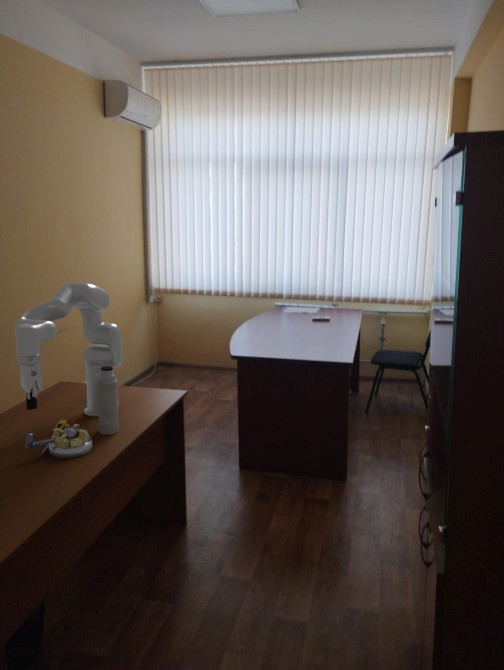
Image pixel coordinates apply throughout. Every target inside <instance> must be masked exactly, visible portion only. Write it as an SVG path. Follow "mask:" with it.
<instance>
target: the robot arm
mask: <svg viewBox="0 0 504 670" xmlns="http://www.w3.org/2000/svg"><path fill="white" fill-rule="evenodd" d="M109 305H110V296H109V293H108V292H107V290H105V289H103V288H102V287H101V286H100V287H99V286H97V285H95V284H91V283H87V282H72V281H71V282H70V281H69V282H66V283H63V285H61V287H60V288H59V289H57V291H56V292H55V293H54V295H53V296H52V297H51V298H50V299H49V300H48V301H45V302H42V303H40V304H38V305H35V306H33V307H31V308H28V309H27V310H26V311H25V312H23V314H22V315H21V316H20V317H19V318H18V320H17V321H16V323H15V326H14V333H15V335H14V336H15V347H16V362H17V363H16V364H17V365H18V366H19V374H20V375H19V379H20V386H21V388H22V389H23V390H24V392H25V405H26V407H25V408H26V410H28V411H30V410H31V411H32V410H37V409H38V401H37V397H38V391H40V392H42V391H43V382H42V373H41V368H40V363H41V350H40V349H41V348H40V347H41V346H40V344H41V343H45V342H49V341H51V340H53V339H54V338H55V337H56V335H57V333H58V327H57V325H56V324H55V322H53V321H57V320H60V319H64V318H66V317H67V316H68V315H69V314H70V312H71V311H72V310H73V309H74V308H76V309H77V310H78V311H79V312H80V316H81V321H82V322H81V323H82V330H83V337H84V340H85V341H86V342H87V343H89V345H87V346H86V347H85V348H84V349H83V351H82V353H83V354H82V358H83V359H82V360H83V361H84V362H83V363H84V366H85V376H86V379H85V381H86V402H87V404H86V405H87V407H85V408H84V410H83V413H84V415H86V416H88V417H98V389H97V380H99V375H100V374H101V367H103V366H112V367H113V368H119V367H120V366H121V365H122V364H123V361H124V351H123V349H124V348H123V338H122V332H121V328H120V326H119V325H117V324H116V323H112V322H104V321H103V313H102V310H106V309H107V308H108V307H109ZM37 390H38V391H37ZM119 405H120V401H119V400H118V406H119Z"/></svg>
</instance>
